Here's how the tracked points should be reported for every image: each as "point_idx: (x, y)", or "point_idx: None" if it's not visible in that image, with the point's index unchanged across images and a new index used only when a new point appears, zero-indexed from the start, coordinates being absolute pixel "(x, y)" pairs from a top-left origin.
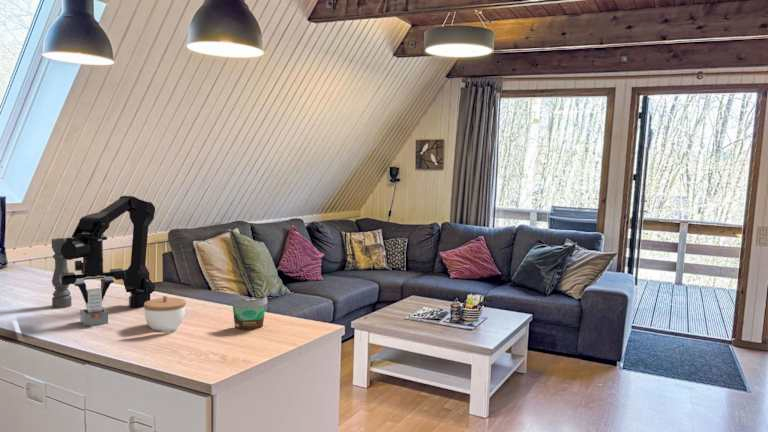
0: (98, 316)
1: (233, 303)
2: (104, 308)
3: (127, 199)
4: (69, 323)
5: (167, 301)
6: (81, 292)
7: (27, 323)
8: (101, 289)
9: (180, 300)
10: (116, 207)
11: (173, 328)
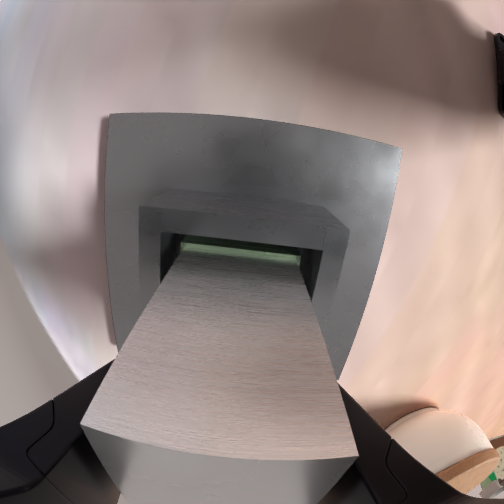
0: None
1: (487, 490)
2: (335, 284)
3: None
4: (134, 112)
5: None
6: (49, 411)
7: (14, 36)
8: (333, 497)
9: (467, 491)
10: None
11: None
